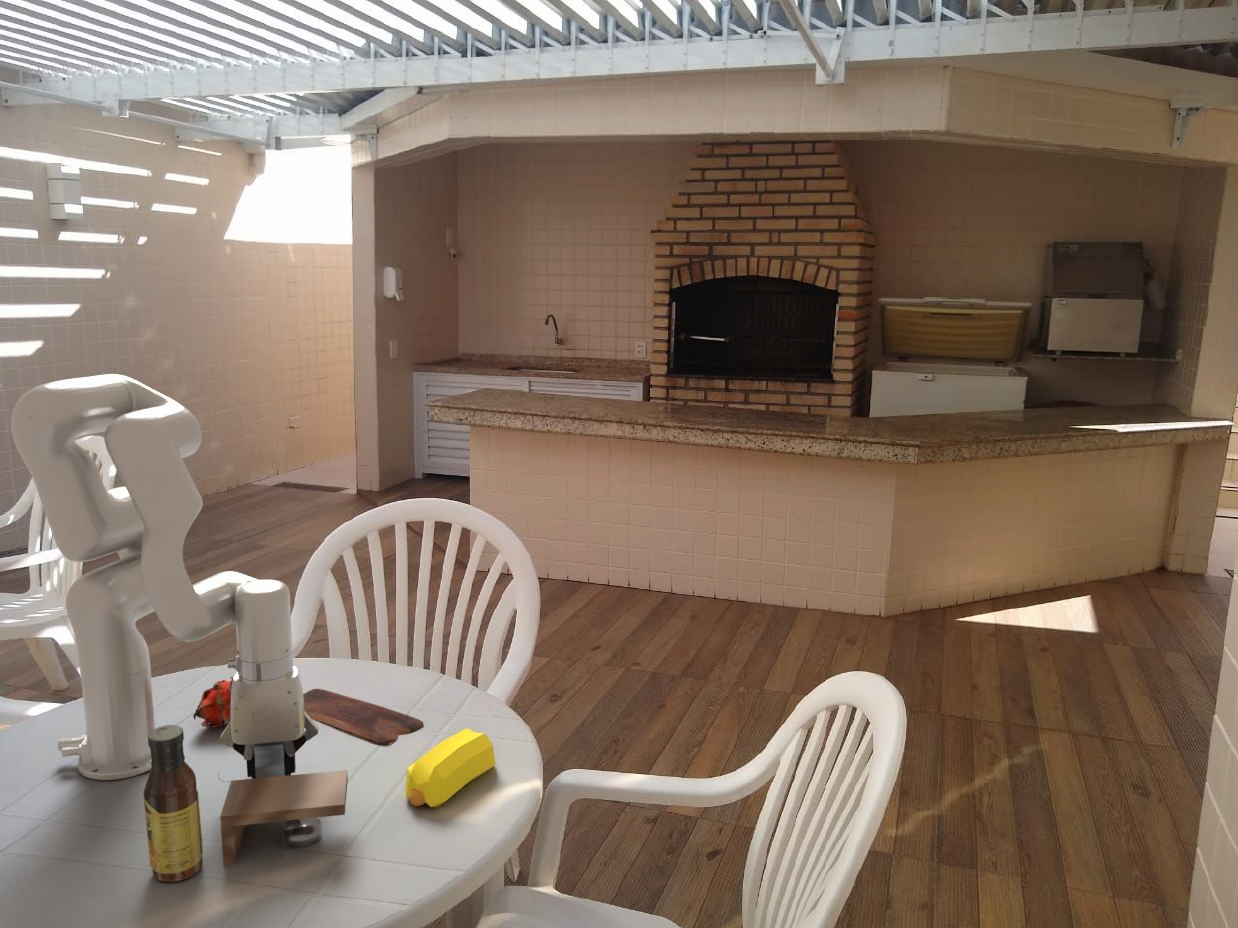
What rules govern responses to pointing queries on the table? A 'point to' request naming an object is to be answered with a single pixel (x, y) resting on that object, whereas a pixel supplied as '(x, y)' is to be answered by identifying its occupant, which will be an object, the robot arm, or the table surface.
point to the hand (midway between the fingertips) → (272, 777)
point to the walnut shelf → (279, 803)
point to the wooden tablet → (359, 716)
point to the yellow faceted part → (449, 768)
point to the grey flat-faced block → (269, 759)
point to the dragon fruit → (215, 705)
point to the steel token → (301, 832)
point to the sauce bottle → (172, 808)
